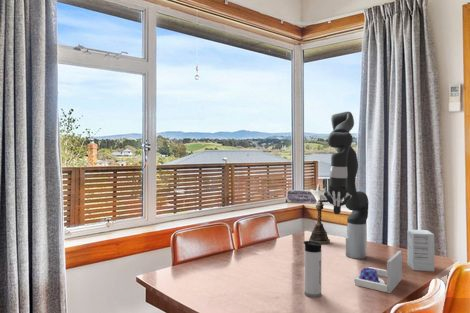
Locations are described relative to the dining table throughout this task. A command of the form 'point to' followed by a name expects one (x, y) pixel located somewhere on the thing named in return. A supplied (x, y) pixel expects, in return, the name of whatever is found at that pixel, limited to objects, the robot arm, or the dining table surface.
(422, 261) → the supplement box
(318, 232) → the brown tall flared piece
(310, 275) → the travel mug
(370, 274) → the blue checkered hat
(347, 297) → the dining table surface
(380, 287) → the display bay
